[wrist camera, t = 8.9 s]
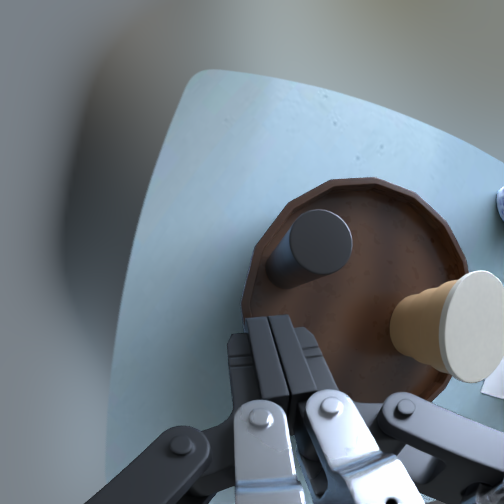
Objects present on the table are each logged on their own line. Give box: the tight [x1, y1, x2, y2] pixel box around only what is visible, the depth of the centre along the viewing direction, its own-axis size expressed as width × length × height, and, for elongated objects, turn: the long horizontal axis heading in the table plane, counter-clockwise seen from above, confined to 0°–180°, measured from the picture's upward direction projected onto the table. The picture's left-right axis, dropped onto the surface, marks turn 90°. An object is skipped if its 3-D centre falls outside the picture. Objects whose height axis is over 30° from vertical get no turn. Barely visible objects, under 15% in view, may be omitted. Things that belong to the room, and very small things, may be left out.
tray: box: [240, 177, 469, 403], centre depth 18 cm, size 20×20×10 cm
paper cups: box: [390, 271, 504, 383], centre depth 18 cm, size 7×7×8 cm
